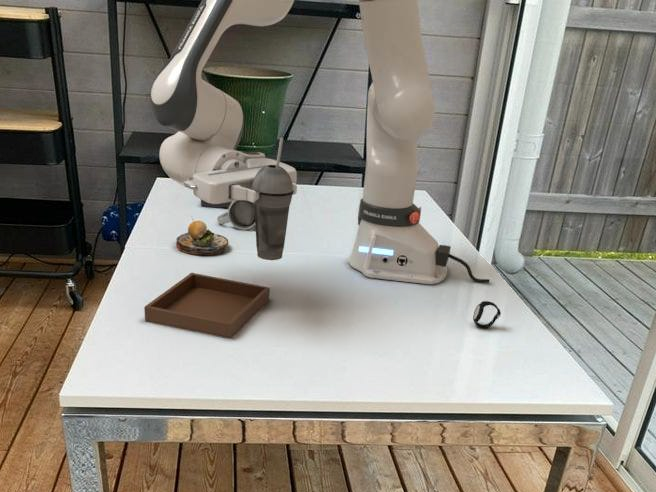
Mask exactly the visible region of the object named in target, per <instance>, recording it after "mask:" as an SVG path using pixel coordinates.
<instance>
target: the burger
mask: <svg viewBox="0 0 656 492" xmlns="http://www.w3.org/2000/svg"><path fill="white" fill-rule="evenodd" d="M191 218H192V220H193V221H192V222H191V223H190V224H189V225H188V228H187V232H185V233H183V234H180V235H179V236H178V237H176V243H175V245H176V248H178V250H179V251H182V252H184V253H188V254H192V255H200V256H211V255H213V256H214V255H219V254H222V253H224V252H225V248H226V247H227V246H228V245H229V239H228V238H227V237H225V236H224V235H221V234H217V233H215V232H212V231H211V230H210V229H208V226H207V224H206V223H205V222H204V221H202V220H194V218H193V217H191Z"/></svg>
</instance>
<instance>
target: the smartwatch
mask: <svg viewBox="0 0 656 492" xmlns="http://www.w3.org/2000/svg"><path fill="white" fill-rule="evenodd" d="M487 306H491V307H494V308H495V309H496V313H495V315H494V316H493V317H492V319H491V320H490V321H489V322H488V323H486V324H481V323H479V321H480V320H481V318H482V316H483V314H484V310H485V307H487ZM501 313H502V312H501V309H500V308H499V307H498V306H497V304H495V303H494V302H492V301H489V300H483V301H481V302H480V303H479V304H477V305H476V306H475V310H474V312H473V316H472V320H473V323H474V324H475V326H476V327H478V328H480V329H483V330H484V329H485V330H486V329H489V328H490V327H492V326H493V325H494V324H495V323H496V321H497V320H498V319H499V317H501Z"/></svg>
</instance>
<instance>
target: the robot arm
mask: <svg viewBox="0 0 656 492" xmlns="http://www.w3.org/2000/svg"><path fill="white" fill-rule="evenodd" d="M294 2H295V0H201V2H200V3H199V5H198V7H197V9H196V10H195V12H194V14H193V15H192V17H191V20H190V21H189V23H188V24H187V27H186V28H185V30H184V32H183V34H182V36H181V37H180V40H179V41H178V43H177V45H176V47H175V49H174V50H173V52H172V54H171V55H170V58H169V59H168V61H167V62H166V63H165V64H164V66H163V67H162V68H161V69H160V71H159V72H158V73H157V75H156V76H155V78H154V79H153V80H152V81H153V82H152V83H151V86H150V89H149V101H150V102H149V103H150V106H151V109H152V112H153V115H154V116H155V119H156V121H157V123H159V124H160V125H162V126H164V127H165V128H168V129H171V130H174V131H176V133H174V134H172V135H170V136H168V137H167V138H165V139H164V140H163V142H162V143H161V145H160V148H159V155H158V156H159V163H160V166H161V168H162V170H163V171H164V173H165V174H166V175H167V177H169V178H170V179H171V180H172V181H174V182H175V183H177V184H179V185H181V186H183V187H185V188H186V189H189V190H192V191H193V195H194V196H195V197H196V198H198V199H200V201H201V200H203V201H205V202H207V203H211V204H221V203H226V202H231V201H237V200H247V201H250V202H256V201H260V191H259V190H256V189H252V186H253V180H254V178H255V176H256V174H257V172H258V171H259V170H260V169H261V168H263V167H264V166H267V165H276V162H277V159H273V158H267V157H266V155H265V153H263V152H260V151H241V150H237V148H238V146H239V145H240V142H241V139H242V136H243V132H244V127H245V115H244V110H243V107H242V105H241V103H240V102H239V101H238V100H236V98H233V97H232V96H230V95H229V94H228V93H225V92H224V91H223V90H221V89H219V88H217V87H215V86H214V85H212V84H211V83H209V82H208V81H206V80H204V79H203V77H202V73H203V72H202V71H203V69H204V67H205V66H206V63H208V60H209V58H210V56H211V55H212V53H213V51H214V50H215V47H216V46H217V44H218V42H219V41H220V39H221V37H222V35H223V34H224V32H225V31H226V30H228V29H229V28H230V27H232V26H234V25H248V26H255V27H269V26H272V25H275V24H277V23H279V22H280V21H282V20H283V19H284V18H285V17H286V16H287V15H288V13H289V12H290V10H291V9H292V7H293V4H294ZM358 4H359V13H360V22H361V28H362V29H361V30H362V34H363V36H362V37H363V45H364V49H365V54H366V57H367V61H368V66H369V69H370V70H369V71H370V76H371V79H372V82H371V84H370V86H369V88H368V92H367V108H366V109H367V110H366V160H365V172H364V180H363V181H364V182H363V191H362V198H360V200H359V205H358V213H357V226H358V227H357V232H356V237H355V241H354V245H353V247H352V251H351V254H350V256H349V258H348V264H349V266H351V267H352V268H353V269H355V270H357V271H359V272H360V273H362V274H363V275H364V276H365V277H367V278H370V279H379V280H388V281H398V282H406V283H415V284H423V285H437V284H439V283H441V282H443V281H444V280H445V279H446V277H447V275H448V266H447V264H448V262H449V259H450V260H453V261H455V262H457V263H459V264H461V265H462V266H463V267H464V268H465V269H466V271H467V274H468V277H469V278H470V279H471V280H472V281H473V282H476V283H478V284H479V283H481V284H490V280H491V279H488V278H477V277H476V276H474V275H473V272H472V269H471V267H470V265H469V264H468V263H467V262H466V261H464V260H463V259H461V258H460V257H457V256H456V255H454V254H451V253H450V252H451V249H452V248H451V247H452V246H451V245H444V244H439V243H438V241H437V240H436V239H435V238H434V237H433V235H431V233H429V232H428V230H426V229H425V227H424V226H423V225H422V224H421V223H420V221H421V213H422V207H421V206H419V207H418V206H417V205H416V204H415V203H414V197H415V191H416V185H417V176H418V171H419V163H418V139H419V138H421V137H423V135H425V134H426V133H427V132H428V131H429V130H430V129H431V126H432V125H433V123H434V121H435V117H436V105H435V101H434V97H433V91H432V86H431V79H430V73H429V67H428V64H427V63H428V62H427V57H426V53H425V49H424V43H423V38H422V31H421V30H422V29H421V21H420V19H421V18H420V10H419V9H420V8H419V0H358ZM279 166H280V167H282V168H283V169H285V170H286V171H287V173H288V174H289V175H290V178H291V180H292V184H293V191H294V192H293V194H292V196H293V195H296V194H297V193H298V192H297V191H298V186H297V180H298V173H297V170H296V168H295V167H293V166H292V165H289V164H287V163H284V162H281V161H280V163H279Z"/></svg>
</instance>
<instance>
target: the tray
mask: <svg viewBox="0 0 656 492" xmlns="http://www.w3.org/2000/svg"><path fill="white" fill-rule="evenodd" d="M270 298H271V287H268V286H265V285H264V286H263V285H259V284H254V283H248V282H242V281H238V280H232V279H231V280H230V279H228V278H222V277H216V276H211V275H206V274H200V273H195V272H190V273H189V274H187V275H186V276H184V278H182V279H181V280H179V281H177V282H176V283H175V284H174V285H172V286H171V287H169V288H168V289H167V290H166V291H164V292H163V293H161V294H160V295H159V296H157V297H156V298H154V299H153V300H152V301H150V302H148V304H146V305H145V306H144V321H145V322H146V323H147V322H148V323H152V324H157V325H161V326H165V327H171V328H176V329H180V330H181V329H182V330H187V331H190V332H196V333H199V334H205V335H210V336H214V337H220V338H225V339H229V340H231V339H233V338H234V337H235V336H236V335H237V334H238V333H239V332H240V331H241V330H242V329H243V328H245V326H246V325H247V324H248V323H249V322H250V321H251V320H252V319H253V318H254V317H255V316H256V315H257V314H258V313H259V312H261V310H262V309H263V308H264V307H266V305H267V304H269V302H270V300H271V299H270Z"/></svg>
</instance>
